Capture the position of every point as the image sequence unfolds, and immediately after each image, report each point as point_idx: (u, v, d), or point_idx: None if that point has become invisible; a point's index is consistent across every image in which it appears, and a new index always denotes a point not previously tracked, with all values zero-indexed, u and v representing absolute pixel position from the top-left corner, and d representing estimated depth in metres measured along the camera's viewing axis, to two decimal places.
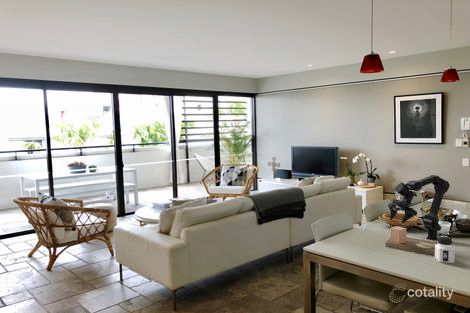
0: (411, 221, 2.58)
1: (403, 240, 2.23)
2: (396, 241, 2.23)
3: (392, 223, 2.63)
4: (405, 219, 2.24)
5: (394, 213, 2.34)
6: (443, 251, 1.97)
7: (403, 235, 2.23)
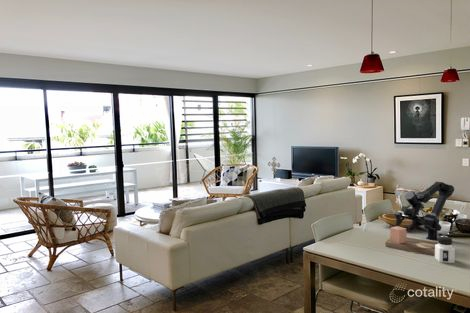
0: (411, 221, 2.58)
1: (403, 240, 2.23)
2: (396, 241, 2.23)
3: (392, 223, 2.63)
4: (412, 227, 2.23)
5: (400, 221, 2.33)
6: (443, 251, 1.97)
7: (403, 235, 2.23)
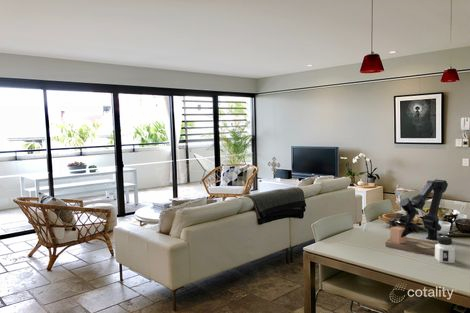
0: None
1: (403, 240, 2.23)
2: (396, 241, 2.23)
3: None
4: (405, 234, 2.22)
5: None
6: (443, 251, 1.97)
7: None
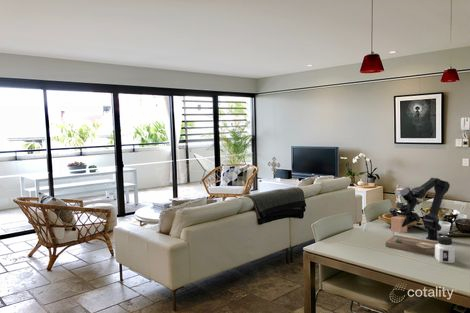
0: None
1: (404, 229, 2.23)
2: (397, 231, 2.22)
3: None
4: (406, 223, 2.21)
5: None
6: (443, 251, 1.97)
7: None
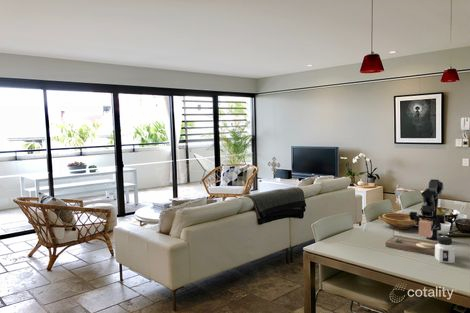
0: (411, 221, 2.58)
1: (431, 233, 2.15)
2: (427, 236, 2.13)
3: (392, 223, 2.63)
4: (434, 226, 2.14)
5: None
6: (443, 251, 1.97)
7: None
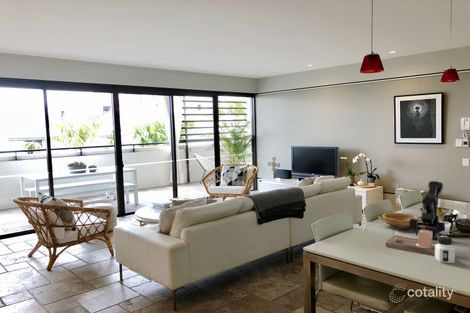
0: None
1: (431, 243, 2.16)
2: (427, 245, 2.14)
3: (392, 223, 2.63)
4: (436, 234, 2.14)
5: (417, 229, 2.21)
6: (443, 251, 1.97)
7: (431, 238, 2.15)
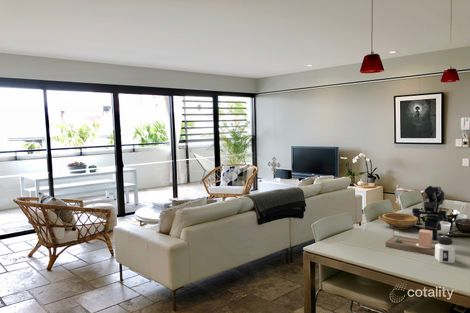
0: (411, 221, 2.58)
1: (431, 243, 2.16)
2: (427, 245, 2.14)
3: (392, 223, 2.63)
4: (438, 222, 2.21)
5: (420, 218, 2.29)
6: (443, 251, 1.97)
7: (431, 238, 2.15)
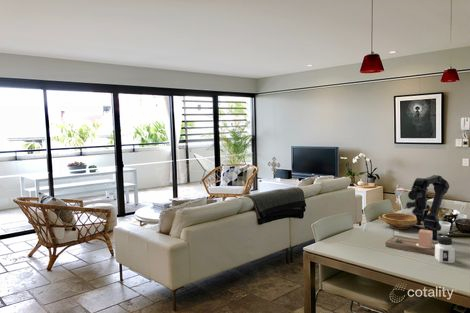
0: (411, 221, 2.58)
1: (431, 243, 2.16)
2: (427, 245, 2.14)
3: (392, 223, 2.63)
4: (418, 220, 2.27)
5: (424, 213, 2.35)
6: (443, 251, 1.97)
7: (431, 238, 2.15)
